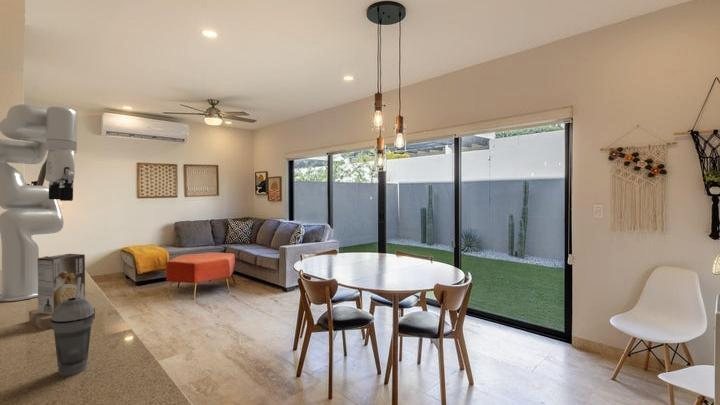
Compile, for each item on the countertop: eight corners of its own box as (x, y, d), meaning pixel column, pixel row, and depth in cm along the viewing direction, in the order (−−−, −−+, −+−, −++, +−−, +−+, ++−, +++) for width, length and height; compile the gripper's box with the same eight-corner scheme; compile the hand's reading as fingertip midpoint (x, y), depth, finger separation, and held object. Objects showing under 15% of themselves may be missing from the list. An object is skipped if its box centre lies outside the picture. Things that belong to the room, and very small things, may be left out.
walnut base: (29, 321, 102) (29, 311, 102) (78, 310, 112) (79, 301, 112) (43, 330, 96) (43, 319, 96) (94, 318, 106) (94, 308, 106)
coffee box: (70, 303, 109) (70, 253, 109) (85, 305, 108) (86, 254, 108) (36, 313, 100) (36, 257, 100) (53, 315, 99) (53, 259, 99)
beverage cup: (67, 362, 78) (68, 273, 78) (101, 362, 78) (102, 273, 78) (40, 379, 71) (41, 281, 70) (78, 378, 71) (79, 281, 71)
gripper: (37, 146, 113) (36, 198, 114) (56, 143, 104) (55, 201, 104) (66, 149, 119) (65, 199, 120) (86, 147, 110) (85, 201, 110)
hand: (60, 200), depth 112 cm, fingers open, 9 cm apart
